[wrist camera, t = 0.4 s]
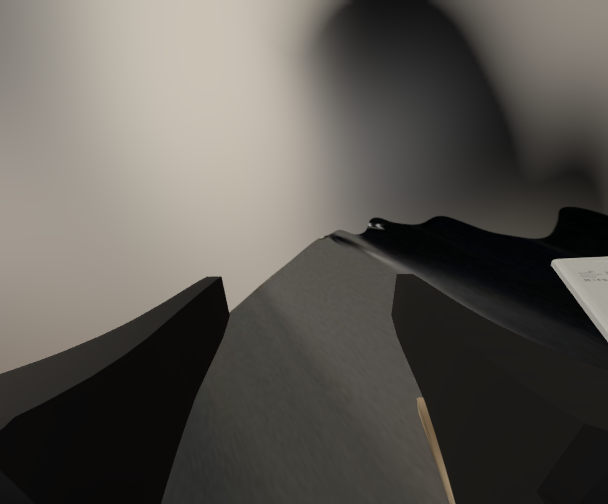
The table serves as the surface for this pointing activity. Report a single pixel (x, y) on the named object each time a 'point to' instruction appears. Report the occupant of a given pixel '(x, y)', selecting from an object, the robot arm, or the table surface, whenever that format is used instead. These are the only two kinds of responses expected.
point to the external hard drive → (587, 286)
